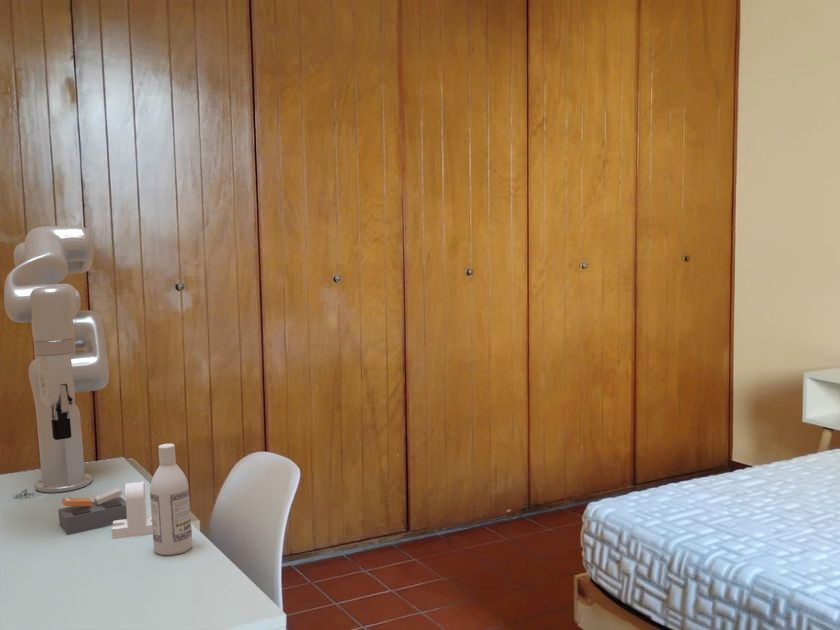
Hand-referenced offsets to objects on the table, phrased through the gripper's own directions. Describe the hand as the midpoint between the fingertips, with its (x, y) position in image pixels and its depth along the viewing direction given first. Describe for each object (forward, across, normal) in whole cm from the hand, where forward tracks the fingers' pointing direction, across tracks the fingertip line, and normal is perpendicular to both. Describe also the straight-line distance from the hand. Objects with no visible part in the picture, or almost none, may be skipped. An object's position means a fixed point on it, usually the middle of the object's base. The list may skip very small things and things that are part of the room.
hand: (62, 438), depth 170 cm
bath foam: (+19, +26, +13) cm, 35 cm away
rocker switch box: (+19, -1, +5) cm, 19 cm away
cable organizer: (+19, +11, +11) cm, 25 cm away
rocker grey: (+14, 0, +8) cm, 16 cm away
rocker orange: (+14, 0, +2) cm, 14 cm away
